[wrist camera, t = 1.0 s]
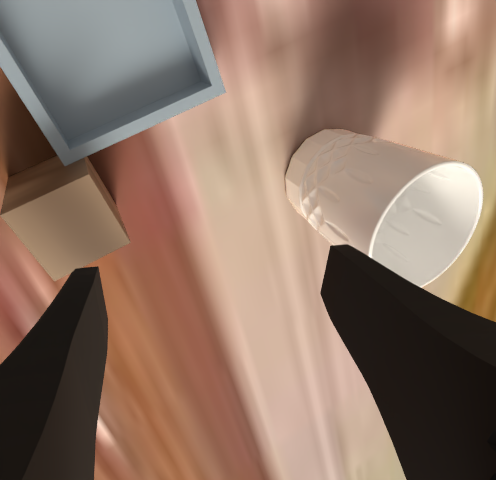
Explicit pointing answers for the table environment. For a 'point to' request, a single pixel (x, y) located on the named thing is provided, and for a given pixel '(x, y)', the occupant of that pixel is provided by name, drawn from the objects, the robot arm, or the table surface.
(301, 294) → the table surface
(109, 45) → the parts tray
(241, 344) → the table surface
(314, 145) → the white cup
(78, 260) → the walnut block
